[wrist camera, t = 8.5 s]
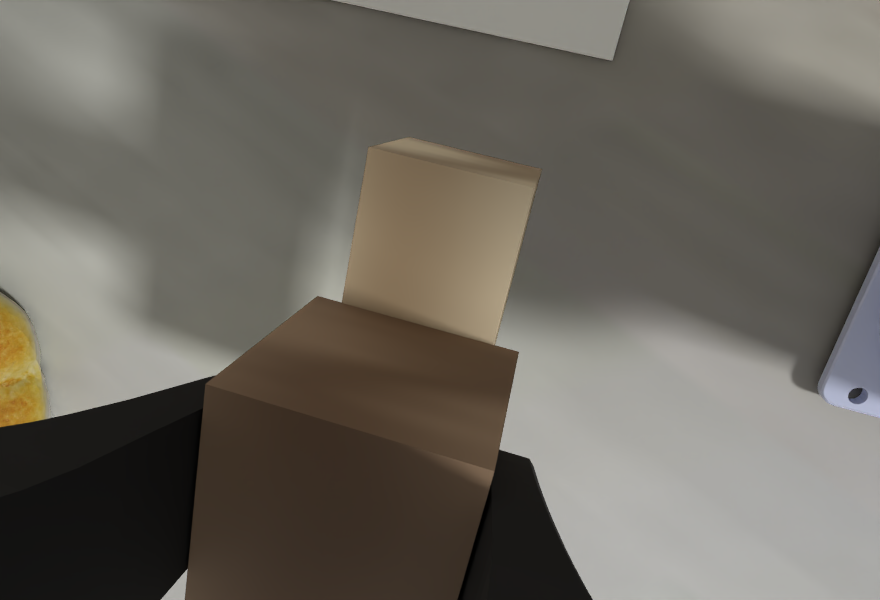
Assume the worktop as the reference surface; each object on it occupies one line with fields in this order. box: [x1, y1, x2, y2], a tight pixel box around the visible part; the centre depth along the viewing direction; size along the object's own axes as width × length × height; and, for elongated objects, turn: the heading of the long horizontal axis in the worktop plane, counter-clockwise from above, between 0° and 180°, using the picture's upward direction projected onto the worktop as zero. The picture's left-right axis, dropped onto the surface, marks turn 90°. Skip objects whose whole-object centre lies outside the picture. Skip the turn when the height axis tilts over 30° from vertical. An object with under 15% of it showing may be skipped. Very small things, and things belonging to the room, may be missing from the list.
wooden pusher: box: [185, 137, 542, 600], centre depth 12 cm, size 4×10×7 cm, turn 167°
